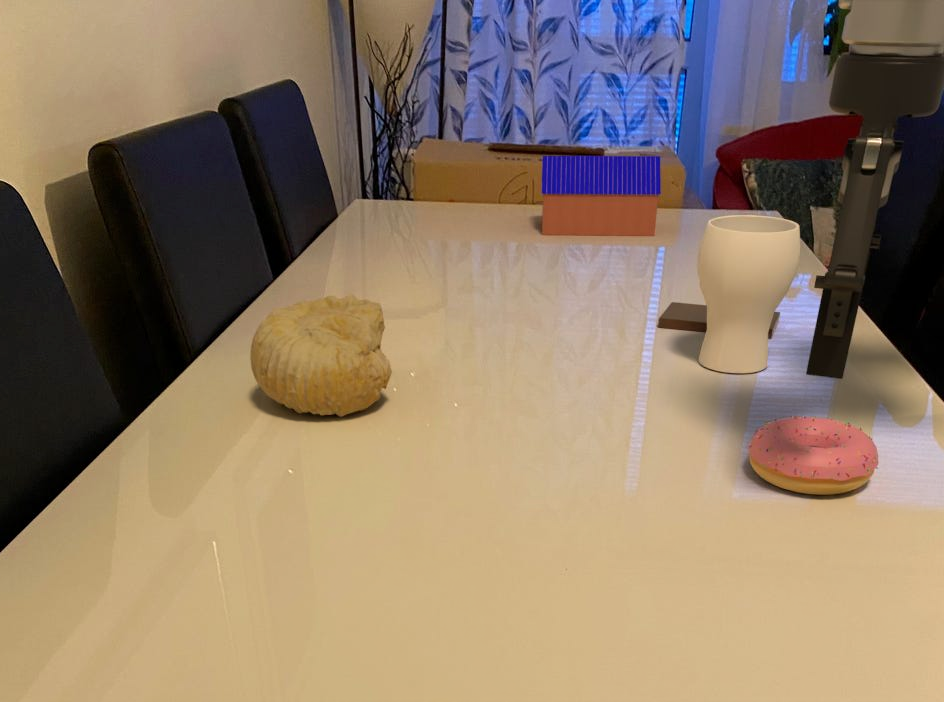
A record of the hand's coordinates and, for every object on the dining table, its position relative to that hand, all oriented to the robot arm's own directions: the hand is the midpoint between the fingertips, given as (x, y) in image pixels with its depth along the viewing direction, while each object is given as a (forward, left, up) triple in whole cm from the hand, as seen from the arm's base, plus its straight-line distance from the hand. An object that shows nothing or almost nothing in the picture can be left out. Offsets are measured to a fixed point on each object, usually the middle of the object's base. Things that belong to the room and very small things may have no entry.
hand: (831, 350), depth 81 cm
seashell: (+49, -3, -11) cm, 50 cm away
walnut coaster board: (+15, -44, -11) cm, 48 cm away
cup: (+11, -29, -11) cm, 33 cm away
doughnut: (0, 0, -11) cm, 11 cm away
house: (+45, -96, -11) cm, 107 cm away
